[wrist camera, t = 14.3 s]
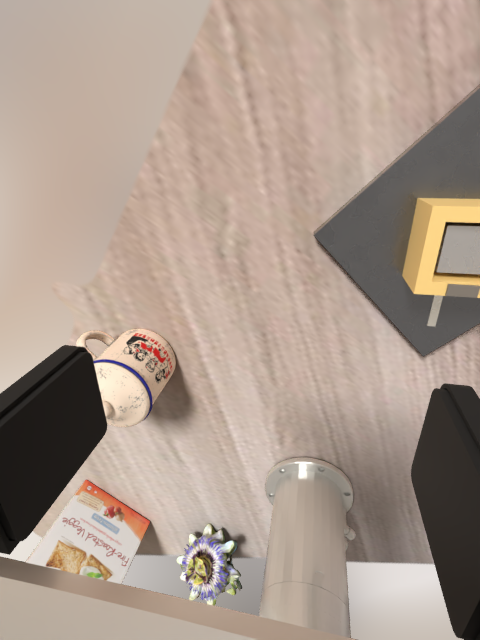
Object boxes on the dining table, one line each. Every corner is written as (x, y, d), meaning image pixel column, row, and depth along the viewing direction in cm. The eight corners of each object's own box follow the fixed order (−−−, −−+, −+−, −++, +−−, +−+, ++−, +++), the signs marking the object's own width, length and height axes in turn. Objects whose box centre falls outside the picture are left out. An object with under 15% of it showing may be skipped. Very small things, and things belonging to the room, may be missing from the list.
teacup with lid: (191, 361, 47) (156, 421, 37) (151, 394, 51) (108, 456, 41) (124, 296, 45) (66, 340, 35) (87, 335, 49) (25, 385, 39)
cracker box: (152, 519, 64) (84, 670, 46) (137, 533, 67) (67, 680, 48) (86, 476, 62) (-12, 614, 44) (74, 492, 65) (-23, 628, 47)
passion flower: (218, 499, 66) (229, 534, 55) (249, 545, 67) (267, 590, 55) (166, 539, 64) (165, 585, 52) (199, 586, 65) (206, 642, 53)
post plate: (600, 240, 32) (649, 257, 27) (420, 349, 40) (433, 377, 35) (484, 79, 29) (517, 66, 24) (313, 231, 37) (312, 244, 32)
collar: (508, 199, 31) (541, 208, 26) (483, 280, 34) (509, 301, 30) (417, 198, 32) (433, 206, 28) (402, 275, 36) (414, 295, 31)
